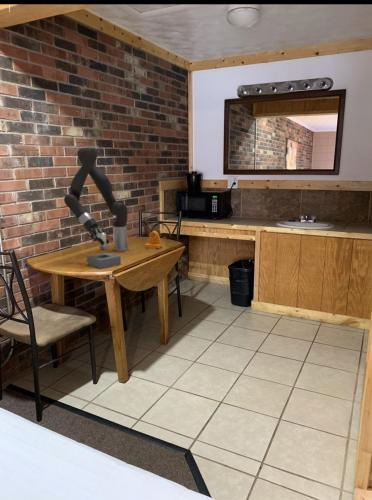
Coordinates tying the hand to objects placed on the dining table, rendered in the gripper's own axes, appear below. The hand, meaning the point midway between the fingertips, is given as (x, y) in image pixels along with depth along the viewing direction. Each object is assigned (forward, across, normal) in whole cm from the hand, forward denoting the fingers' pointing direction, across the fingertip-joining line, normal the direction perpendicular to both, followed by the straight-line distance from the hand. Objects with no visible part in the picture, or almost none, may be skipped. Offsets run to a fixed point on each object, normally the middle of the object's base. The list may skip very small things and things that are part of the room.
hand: (105, 243), depth 215 cm
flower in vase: (-18, +72, +36) cm, 83 cm away
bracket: (+11, +54, +7) cm, 55 cm away
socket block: (+8, 0, +10) cm, 13 cm away
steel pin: (+2, 0, +4) cm, 4 cm away
